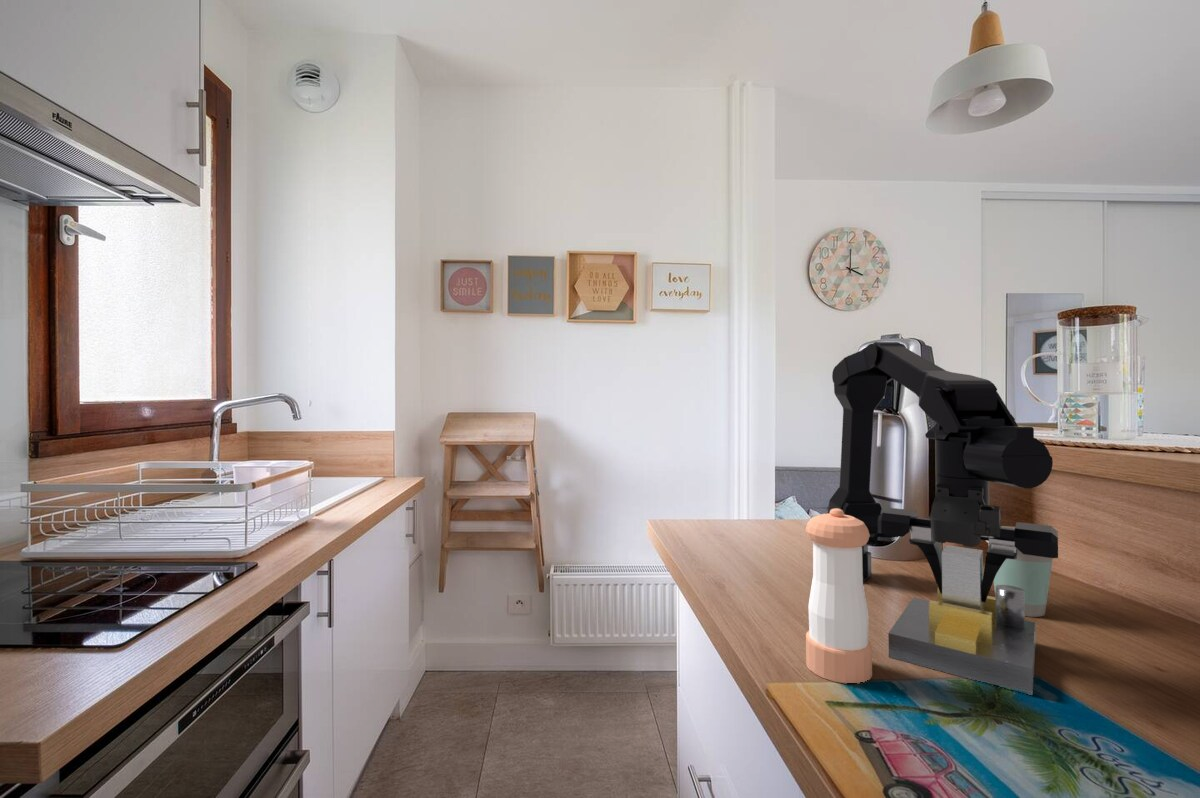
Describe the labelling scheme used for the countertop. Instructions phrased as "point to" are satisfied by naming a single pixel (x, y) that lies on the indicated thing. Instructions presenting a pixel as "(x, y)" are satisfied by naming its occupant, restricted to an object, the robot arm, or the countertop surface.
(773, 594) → the countertop surface
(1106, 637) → the countertop surface
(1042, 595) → the coffee cup
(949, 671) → the gray yellow fixture base
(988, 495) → the robot arm
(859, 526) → the salt shaker
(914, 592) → the countertop surface
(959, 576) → the grey rectangular block
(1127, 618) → the countertop surface
